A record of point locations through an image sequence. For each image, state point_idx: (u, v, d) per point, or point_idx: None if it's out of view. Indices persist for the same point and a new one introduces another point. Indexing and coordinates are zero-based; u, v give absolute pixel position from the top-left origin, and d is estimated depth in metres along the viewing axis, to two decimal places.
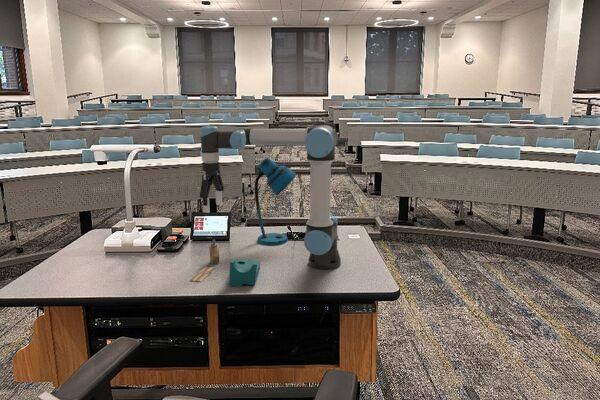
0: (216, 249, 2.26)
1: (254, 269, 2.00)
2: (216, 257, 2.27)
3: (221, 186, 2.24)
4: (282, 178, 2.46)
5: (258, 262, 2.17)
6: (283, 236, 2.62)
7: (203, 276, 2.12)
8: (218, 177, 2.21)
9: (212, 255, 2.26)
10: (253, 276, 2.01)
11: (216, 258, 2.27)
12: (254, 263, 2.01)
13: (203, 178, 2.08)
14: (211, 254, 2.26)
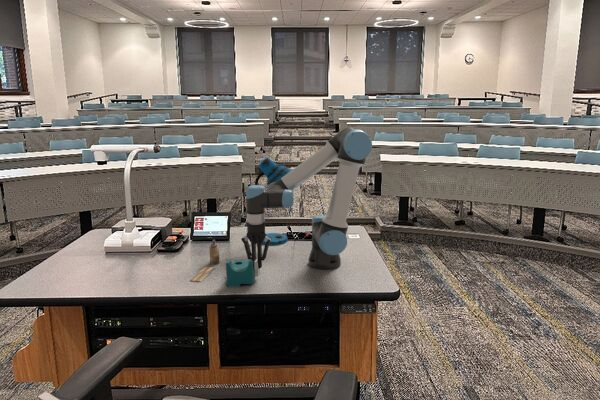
0: (216, 249, 2.26)
1: (250, 268, 2.00)
2: (216, 257, 2.27)
3: None
4: None
5: None
6: (283, 236, 2.62)
7: (203, 276, 2.12)
8: (265, 245, 2.04)
9: (212, 255, 2.26)
10: (250, 275, 2.01)
11: (216, 258, 2.27)
12: (250, 262, 2.01)
13: None
14: (211, 254, 2.26)
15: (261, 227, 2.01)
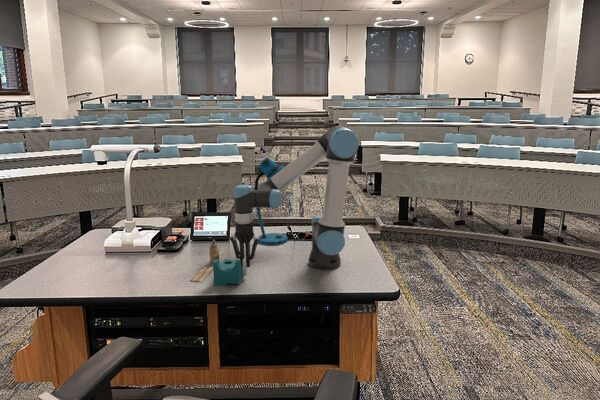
0: (216, 249, 2.26)
1: (237, 268, 2.00)
2: (216, 257, 2.27)
3: None
4: None
5: None
6: (283, 236, 2.62)
7: (203, 276, 2.12)
8: (253, 244, 2.06)
9: (212, 255, 2.26)
10: (237, 275, 2.01)
11: (216, 258, 2.27)
12: (237, 262, 2.01)
13: None
14: (211, 254, 2.26)
15: (249, 226, 2.02)
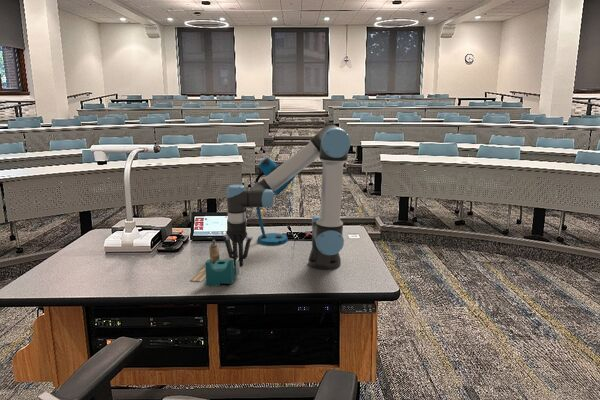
0: (216, 249, 2.26)
1: (229, 268, 2.00)
2: (216, 257, 2.27)
3: (243, 255, 2.07)
4: None
5: None
6: (283, 236, 2.62)
7: (203, 276, 2.12)
8: (246, 243, 2.06)
9: (212, 255, 2.26)
10: (229, 275, 2.01)
11: (216, 258, 2.27)
12: (229, 262, 2.01)
13: None
14: (211, 254, 2.26)
15: (241, 226, 2.03)
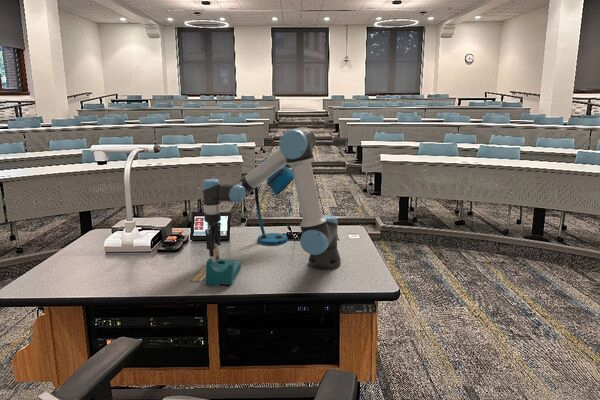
0: (216, 249, 2.26)
1: (230, 269, 2.00)
2: (216, 257, 2.27)
3: None
4: (282, 178, 2.46)
5: (238, 262, 2.17)
6: (283, 236, 2.62)
7: (203, 276, 2.12)
8: (218, 229, 2.30)
9: None
10: (229, 276, 2.01)
11: (216, 258, 2.27)
12: (230, 263, 2.01)
13: (206, 233, 2.20)
14: None
15: None
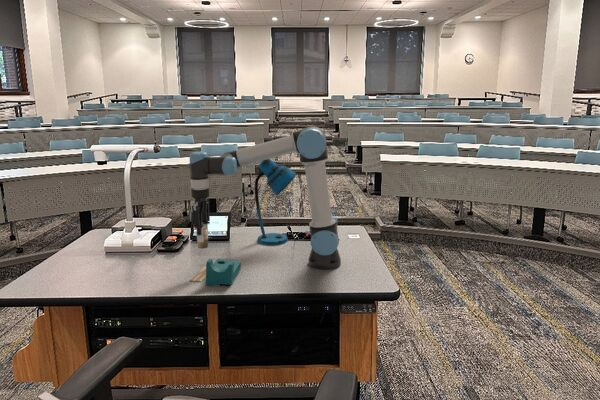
0: (204, 232, 2.11)
1: (230, 269, 2.00)
2: (204, 241, 2.11)
3: None
4: (282, 178, 2.46)
5: (238, 262, 2.17)
6: (283, 236, 2.62)
7: (203, 276, 2.12)
8: (206, 206, 2.14)
9: None
10: (229, 276, 2.01)
11: (204, 241, 2.11)
12: (230, 263, 2.01)
13: (193, 209, 2.04)
14: None
15: None
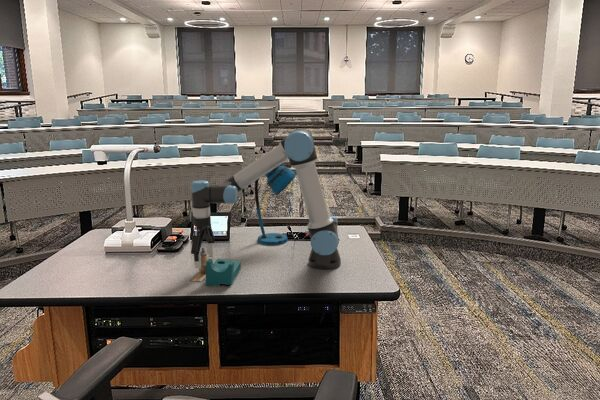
0: (205, 258, 2.13)
1: (230, 269, 2.00)
2: (205, 266, 2.14)
3: (212, 238, 2.22)
4: (282, 178, 2.46)
5: (238, 262, 2.17)
6: (283, 236, 2.62)
7: (203, 276, 2.12)
8: (209, 230, 2.18)
9: (201, 264, 2.14)
10: (229, 276, 2.01)
11: (205, 267, 2.14)
12: (230, 263, 2.01)
13: (194, 234, 2.06)
14: None
15: None
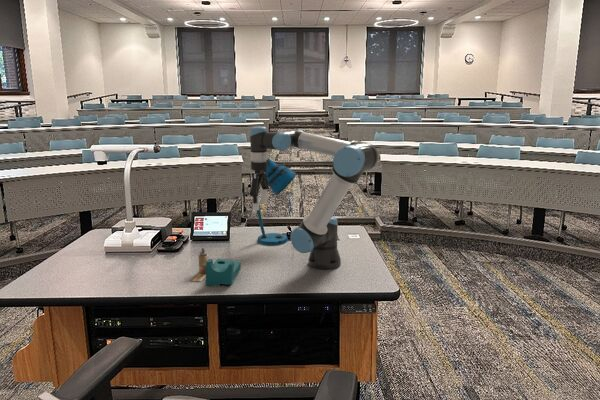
0: (205, 258, 2.13)
1: (230, 269, 2.00)
2: (205, 266, 2.14)
3: None
4: (282, 178, 2.46)
5: (238, 262, 2.17)
6: (283, 236, 2.62)
7: (203, 276, 2.12)
8: (264, 176, 2.28)
9: (201, 264, 2.14)
10: (229, 276, 2.01)
11: (205, 267, 2.14)
12: (230, 263, 2.01)
13: (253, 177, 2.15)
14: (200, 263, 2.14)
15: None
